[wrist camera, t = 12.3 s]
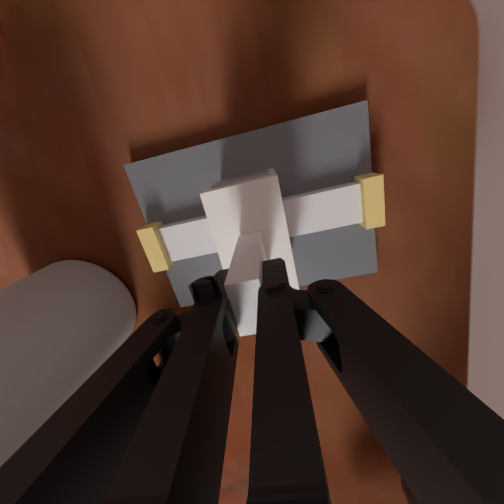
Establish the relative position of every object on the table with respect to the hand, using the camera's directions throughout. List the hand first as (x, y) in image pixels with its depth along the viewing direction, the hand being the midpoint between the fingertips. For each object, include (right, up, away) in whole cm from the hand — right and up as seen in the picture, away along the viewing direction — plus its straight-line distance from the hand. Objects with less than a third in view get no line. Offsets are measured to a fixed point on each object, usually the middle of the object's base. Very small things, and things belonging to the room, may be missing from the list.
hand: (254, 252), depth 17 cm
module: (0, +3, +8) cm, 8 cm away
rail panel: (0, +4, +9) cm, 10 cm away
